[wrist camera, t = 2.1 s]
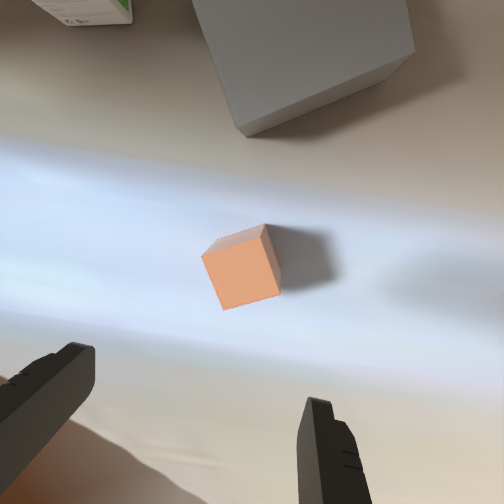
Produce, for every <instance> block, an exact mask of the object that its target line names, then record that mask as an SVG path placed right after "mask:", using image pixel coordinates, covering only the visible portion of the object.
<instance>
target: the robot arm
mask: <svg viewBox="0 0 504 504" xmlns="http://www.w3.org/2000/svg"><path fill="white" fill-rule="evenodd" d="M94 383H95V348H94V347H93V346H89V345H85V344H80V343H76V342H71V343H69V344H67V345H66V346H65V347H64V348H62V349H61V350H60V351H58V352H57V353H56V354H54V353H51V354H48V355H46V356H44V357H42V358H40V359H37V360H35V361H33V362H32V363H31V364H29V365H28V366H27V367H25V368H24V369H23V370H21V371H20V372H19V374H18V375H17V374H16V375H15V376H13V377H12V378H11V379H9V380H8V381H7V382H6V384H3V385H1V386H0V496H1V495H2V494H3V492H4V491H5V490H6V489H7V488H8V487H9V486H10V484H11V483H12V482H13V481H14V480H15V479H16V478H17V477H18V475H19V474H20V473H21V472H22V471H23V470H24V469H25V468H26V466H27V465H28V464H29V463H30V462H31V461H32V460H33V458H34V457H35V456H36V455H37V454H38V453H39V451H41V449H42V448H43V447H44V446H45V445H46V444H47V443H48V442H49V440H50V439H51V438H52V437H53V436H54V435H55V434H56V432H57V431H58V430H59V429H60V428H61V427H62V426H63V425H64V423H65V422H66V421H67V420H68V419H69V418H70V417H71V415H72V414H73V413H74V412H75V411H76V410H77V409H78V408H79V406H80V405H81V404H82V403H83V402H84V401H85V400H86V398H87V397H88V396H89V394H90V393H91V391H92V389H93V386H94ZM297 470H298V493H299V504H372V501H371V497H370V493H369V490H368V486H367V482H366V478H365V474H364V473H363V467H362V463H361V459H360V458H359V452H358V448H357V444H356V441H355V437H354V436H353V434H352V433H351V431H350V429H349V428H348V426H347V425H346V423H345V422H343V421H338V420H335V419H334V414H333V409H332V404H331V402H330V401H326V400H322V399H317V398H313V397H308V399H307V402H306V405H305V409H304V412H303V416H302V419H301V423H300V426H299V430H298V436H297Z"/></svg>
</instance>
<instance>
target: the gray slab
mask: <svg viewBox="0 0 504 504" xmlns="http://www.w3.org/2000/svg"><path fill="white" fill-rule="evenodd" d="M191 1H192V3H193V6H194V9H195V12H196V15H197V18H198V20H199V23H200V26H201V29H202V32H203V35H204V37H205V40H206V43H207V46H208V49H209V52H210V54H211V57H212V60H213V63H214V66H215V69H216V71H217V74H218V77H219V80H220V83H221V86H222V88H223V91H224V94H225V97H226V100H227V103H228V105H229V108H230V111H231V114H232V117H233V120H234V122H235V125H236V128H237V129H238V130H239V131H240V132H241V133H242V134H243V135H244V136H245V137H246V138H248V137H250V136H253V135H255V134H257V133H260V132H262V131H265V130H267V129H269V128H272V127H274V126H277V125H279V124H282V123H284V122H286V121H289V120H291V119H294V118H296V117H298V116H301V115H303V114H306V113H308V112H310V111H313V110H315V109H318V108H320V107H322V106H325V105H327V104H330V103H332V102H335V101H337V100H339V99H342V98H344V97H347V96H349V95H351V94H354V93H356V92H359V91H361V90H363V89H366V88H368V87H371V86H373V85H375V84H378V83H380V82H383V81H384V80H385V79H386V78H387V77H389V76H390V75H391V74H392V73H393V72H394V71H395V70H396V69H397V68H398V67H399V66H400V65H402V64H403V63H404V62H405V61H406V60H407V59H408V58H409V57H410V56H411V55H412V54H414V53H415V52H416V49H415V44H414V39H413V34H412V29H411V24H410V19H409V14H408V9H407V3H406V0H191Z"/></svg>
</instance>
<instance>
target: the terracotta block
mask: <svg viewBox="0 0 504 504" xmlns="http://www.w3.org/2000/svg"><path fill="white" fill-rule="evenodd" d="M201 258H202V260H203V262H204V265H205V267H206V270H207V272H208V274H209V277H210V279H211V282H212V284H213V287H214V289H215V291H216V294H217V296H218V299H219V301H220V303H221V306H222V308H223V311H224V310H227V309H231V308H234V307H238V306H242V305H245V304H249V303H252V302H256V301H260V300H263V299H267V298H270V297H274V296H277V295H280V288H281V269H280V266H279V263H278V260H277V257H276V254H275V251H274V248H273V246H272V243H271V240H270V237H269V234H268V231H267V228H266V225H265V224H262V225H259V226H256V227H253V228H250V229H247V230H244V231H241V232H238V233H235V234H232V235H229V236H226V237H223V238H220V239H218V240H217V241H216V242H215V243H214V244H213V245H212V246H211V247H210V248H209V249H208V250H207V251H206V252H205V253H204V254H203V255H202V256H201Z"/></svg>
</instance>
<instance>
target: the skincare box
mask: <svg viewBox="0 0 504 504" xmlns="http://www.w3.org/2000/svg"><path fill="white" fill-rule="evenodd" d="M31 1H33V2H34V3H35V4H37V5H38V6H40V7H41V8H42V9H44V10H45V11H47V12H48V13H49V14H51V15H52V16H54V17H55V18H57V19H58V20H59V21H61V22H62V23H64V24H65V25H67V26H83V25H108V24H131V23H132V22H133V14H132V5H131V0H31Z"/></svg>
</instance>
